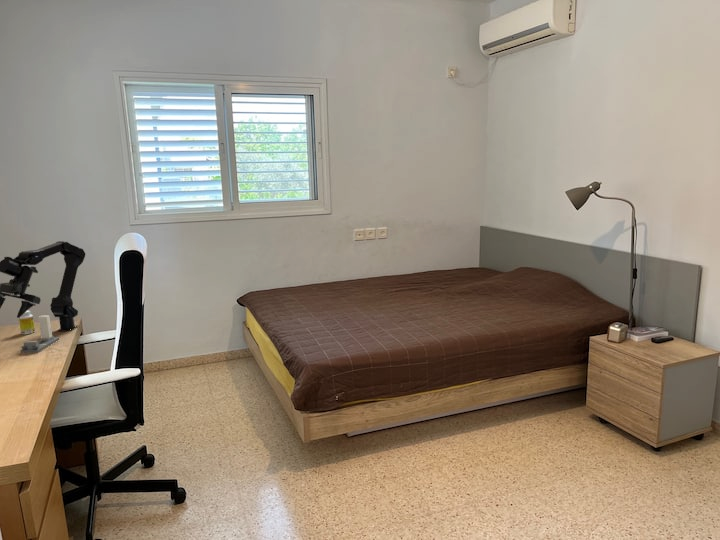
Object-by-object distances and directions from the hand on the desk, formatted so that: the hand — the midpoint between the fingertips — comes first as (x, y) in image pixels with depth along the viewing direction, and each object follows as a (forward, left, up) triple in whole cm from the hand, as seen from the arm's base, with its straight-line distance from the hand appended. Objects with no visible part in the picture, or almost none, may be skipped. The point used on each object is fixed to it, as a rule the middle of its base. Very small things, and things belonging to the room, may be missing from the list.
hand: (7, 315), depth 208 cm
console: (-2, +10, -15) cm, 18 cm away
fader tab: (-7, +10, -13) cm, 18 cm away
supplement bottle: (-22, -7, -15) cm, 27 cm away
